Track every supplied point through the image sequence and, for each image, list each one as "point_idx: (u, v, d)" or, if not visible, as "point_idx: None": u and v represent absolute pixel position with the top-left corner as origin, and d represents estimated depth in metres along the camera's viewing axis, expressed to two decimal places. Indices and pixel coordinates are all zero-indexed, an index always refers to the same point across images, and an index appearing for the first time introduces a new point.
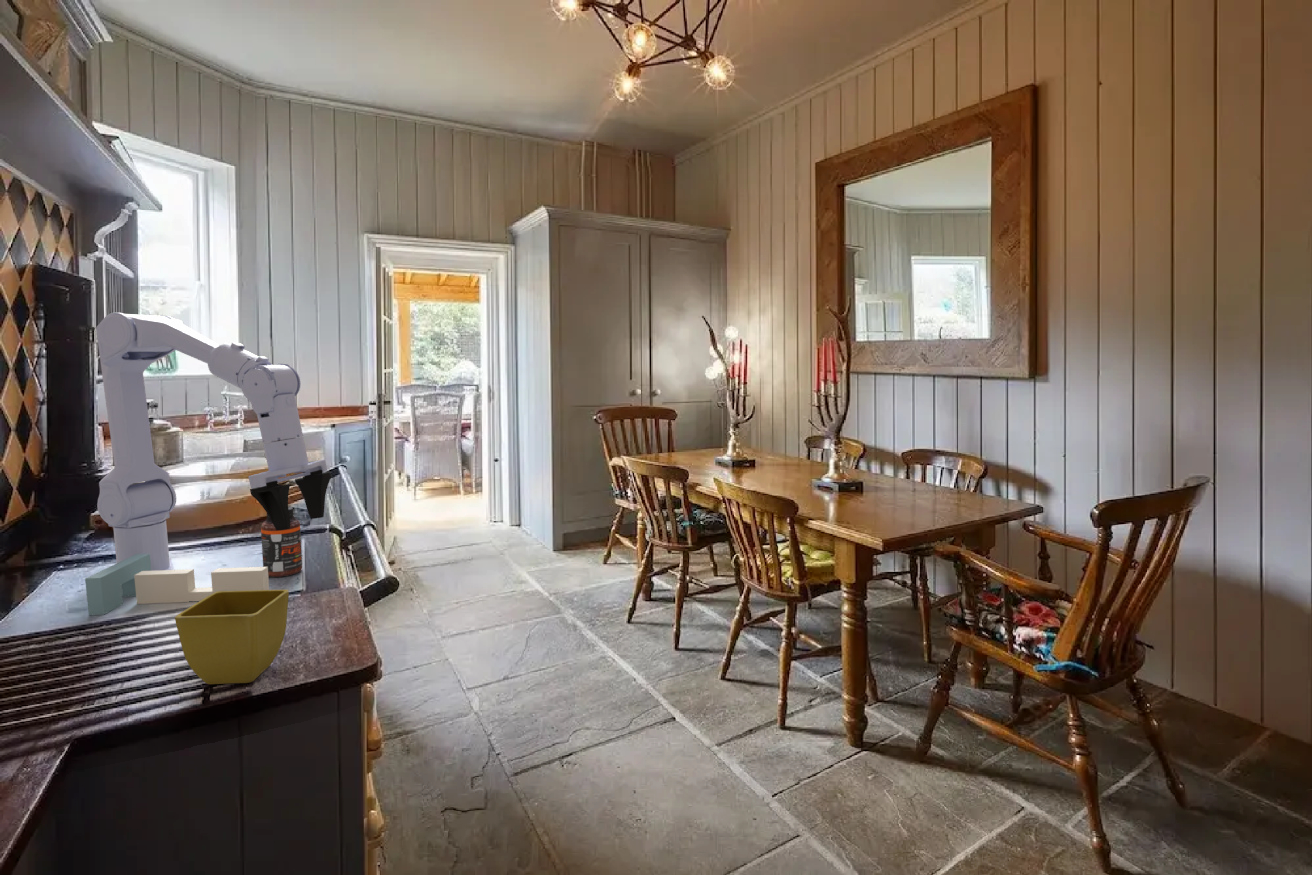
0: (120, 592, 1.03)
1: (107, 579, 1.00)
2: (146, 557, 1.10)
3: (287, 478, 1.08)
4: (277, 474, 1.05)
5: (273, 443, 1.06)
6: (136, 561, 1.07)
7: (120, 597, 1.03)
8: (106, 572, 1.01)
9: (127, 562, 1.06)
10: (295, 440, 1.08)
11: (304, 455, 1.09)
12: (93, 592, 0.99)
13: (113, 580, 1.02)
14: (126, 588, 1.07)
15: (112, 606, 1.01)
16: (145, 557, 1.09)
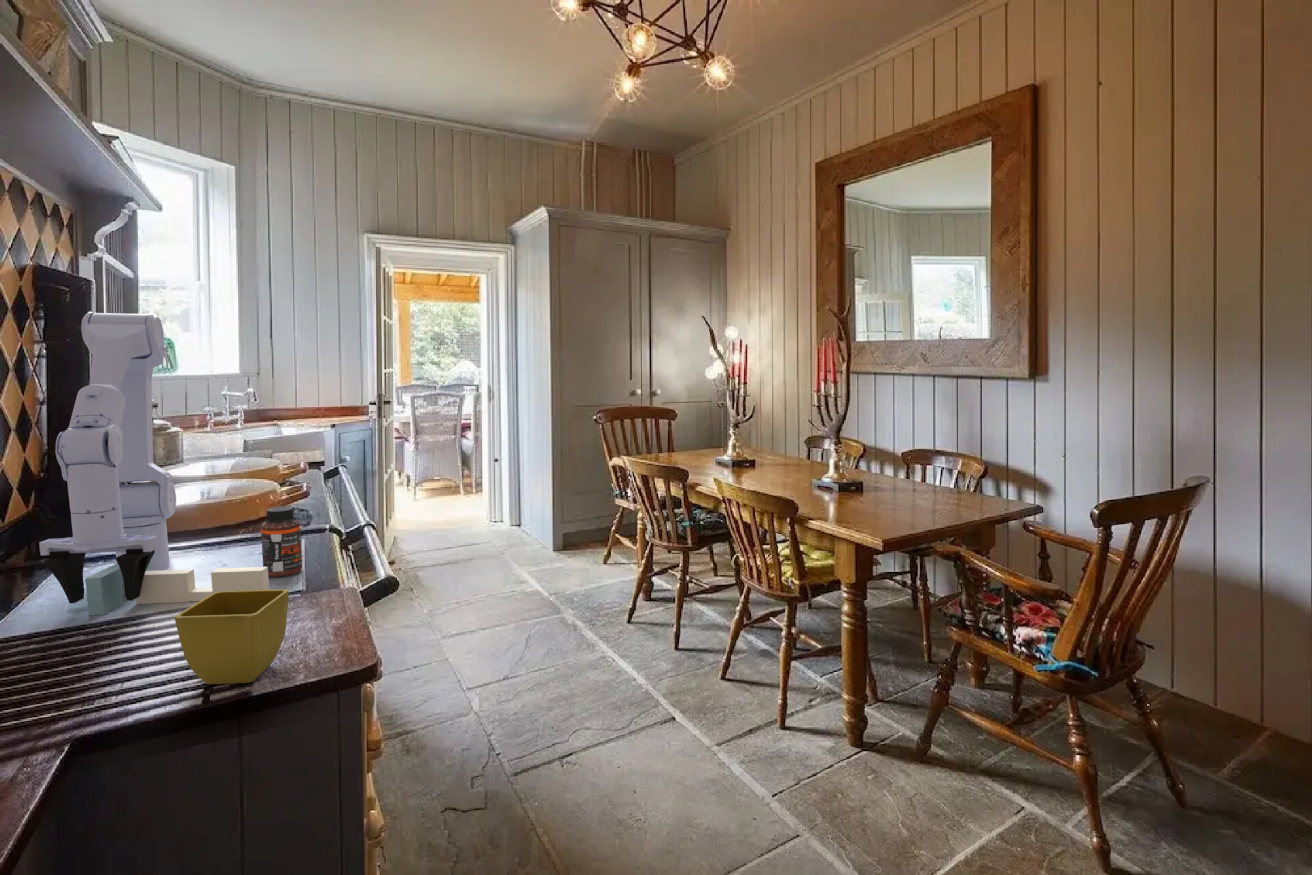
0: (120, 592, 1.03)
1: (107, 579, 1.00)
2: None
3: (89, 550, 1.00)
4: (57, 547, 0.98)
5: None
6: None
7: (120, 597, 1.03)
8: (106, 572, 1.01)
9: None
10: (78, 516, 0.97)
11: (88, 534, 0.97)
12: (93, 592, 0.99)
13: (113, 580, 1.02)
14: None
15: (112, 606, 1.01)
16: None
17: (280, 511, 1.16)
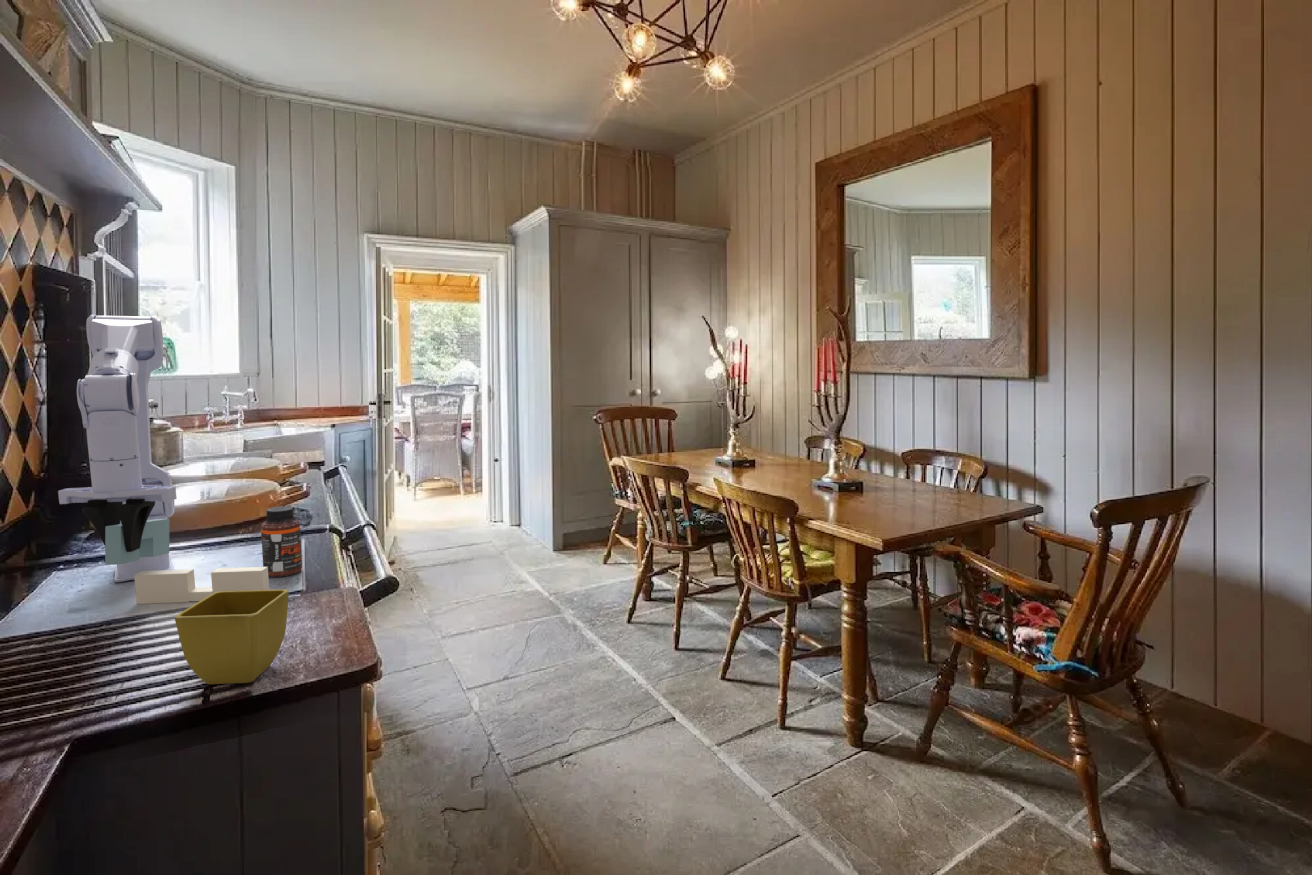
0: None
1: None
2: (166, 520, 1.09)
3: (108, 500, 0.99)
4: (76, 495, 0.97)
5: (91, 461, 0.98)
6: (156, 521, 1.07)
7: (137, 552, 1.02)
8: None
9: (147, 521, 1.06)
10: (97, 463, 0.96)
11: (106, 482, 0.96)
12: (112, 540, 0.98)
13: None
14: (143, 548, 1.06)
15: (129, 559, 1.00)
16: (165, 520, 1.09)
17: (280, 511, 1.16)
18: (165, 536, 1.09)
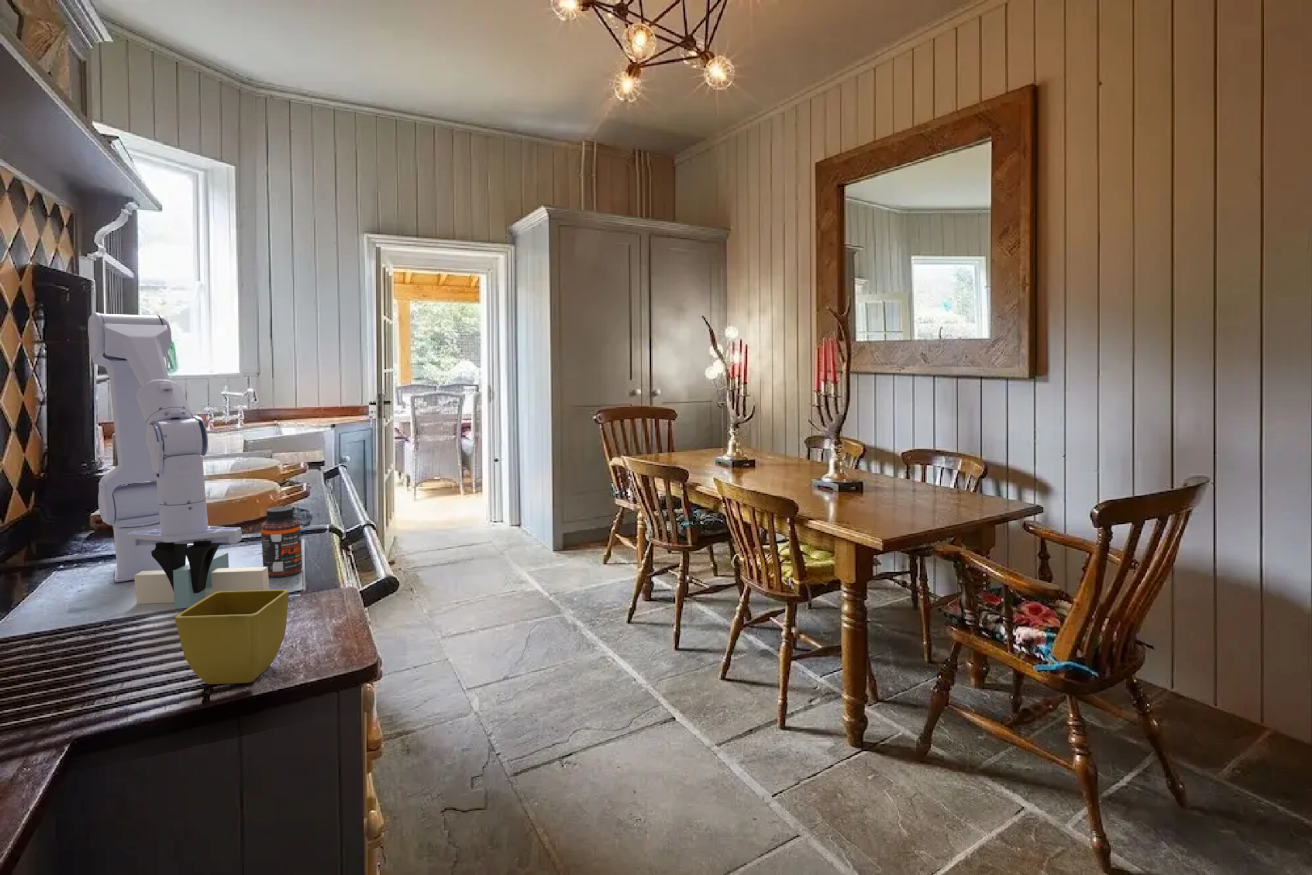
0: None
1: None
2: (225, 555, 1.10)
3: (175, 542, 1.00)
4: (145, 538, 0.98)
5: (159, 504, 0.99)
6: (217, 558, 1.08)
7: (203, 592, 1.03)
8: None
9: None
10: (166, 507, 0.97)
11: (176, 525, 0.98)
12: (180, 584, 0.99)
13: None
14: (206, 585, 1.07)
15: (196, 600, 1.01)
16: (224, 555, 1.10)
17: (280, 511, 1.16)
18: None
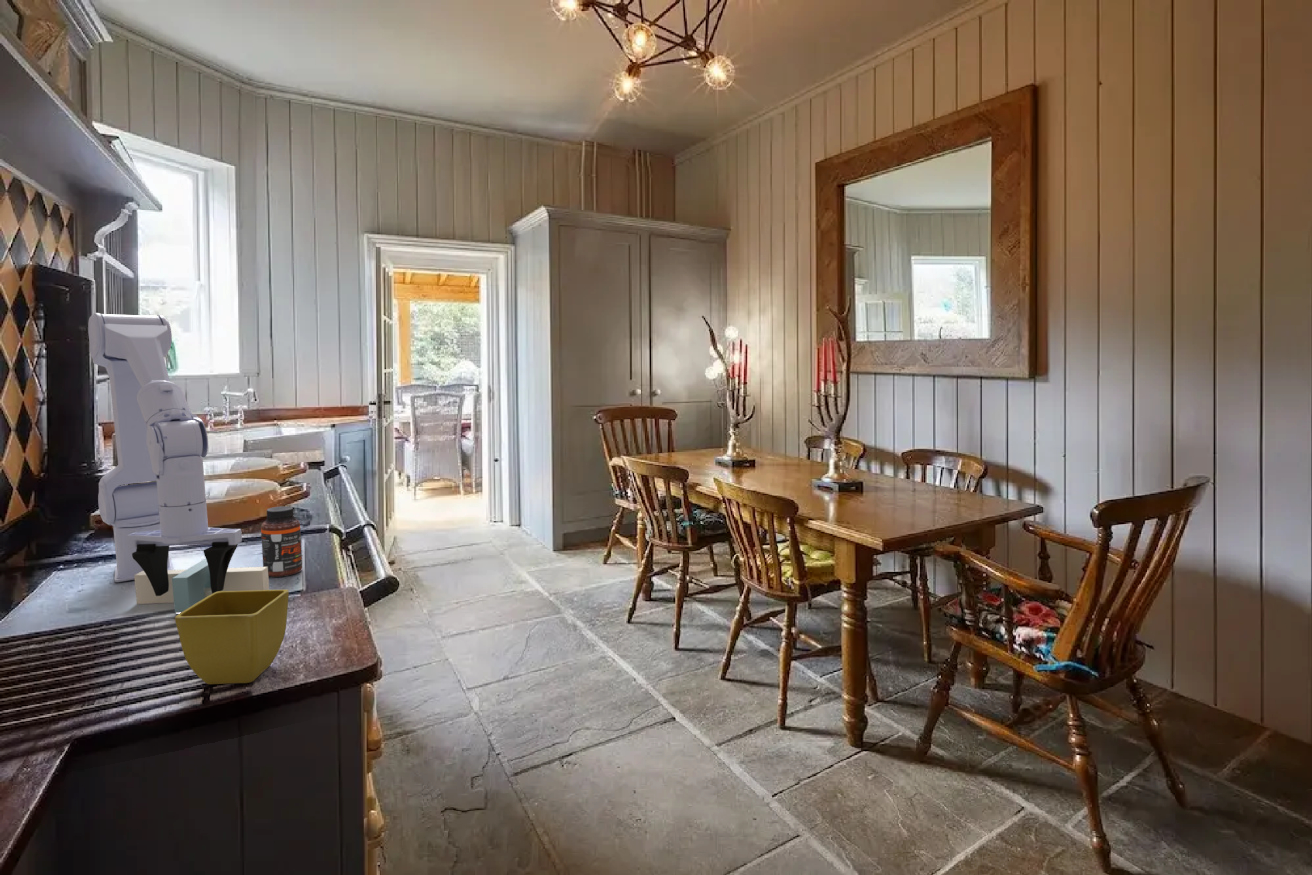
0: (203, 591, 1.04)
1: (192, 579, 1.01)
2: None
3: (176, 543, 1.00)
4: (145, 539, 0.98)
5: (159, 505, 0.99)
6: None
7: (203, 597, 1.03)
8: (191, 572, 1.02)
9: None
10: (167, 509, 0.97)
11: (176, 527, 0.98)
12: (180, 592, 0.99)
13: (197, 579, 1.02)
14: None
15: None
16: None
17: (280, 511, 1.16)
18: None
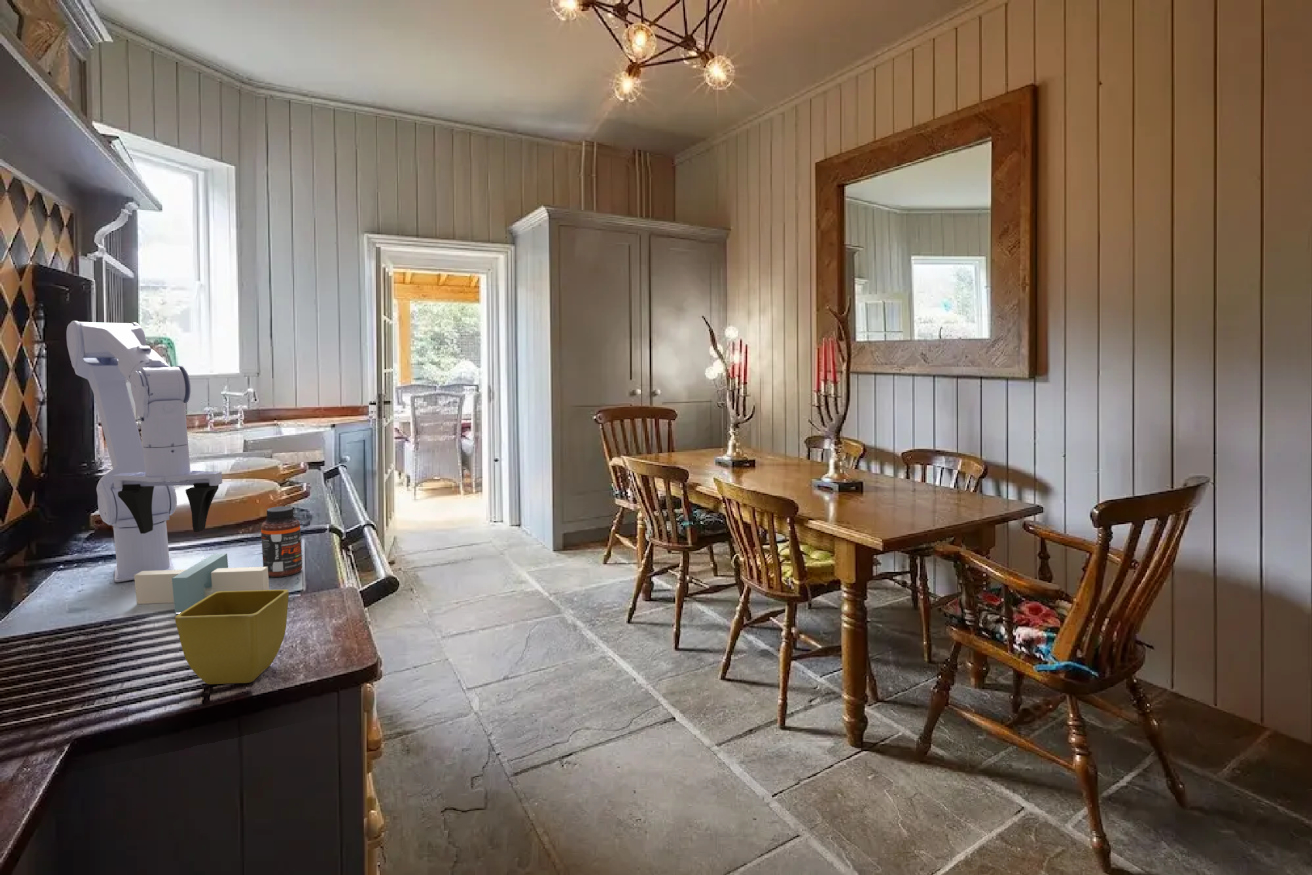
0: (203, 591, 1.04)
1: (192, 579, 1.01)
2: (224, 556, 1.10)
3: (159, 484, 1.06)
4: (130, 479, 1.04)
5: None
6: (216, 561, 1.07)
7: (203, 597, 1.03)
8: (190, 572, 1.02)
9: (208, 562, 1.06)
10: (150, 450, 1.03)
11: (159, 467, 1.03)
12: (180, 592, 0.99)
13: (197, 579, 1.02)
14: None
15: None
16: (223, 557, 1.10)
17: (280, 511, 1.16)
18: None
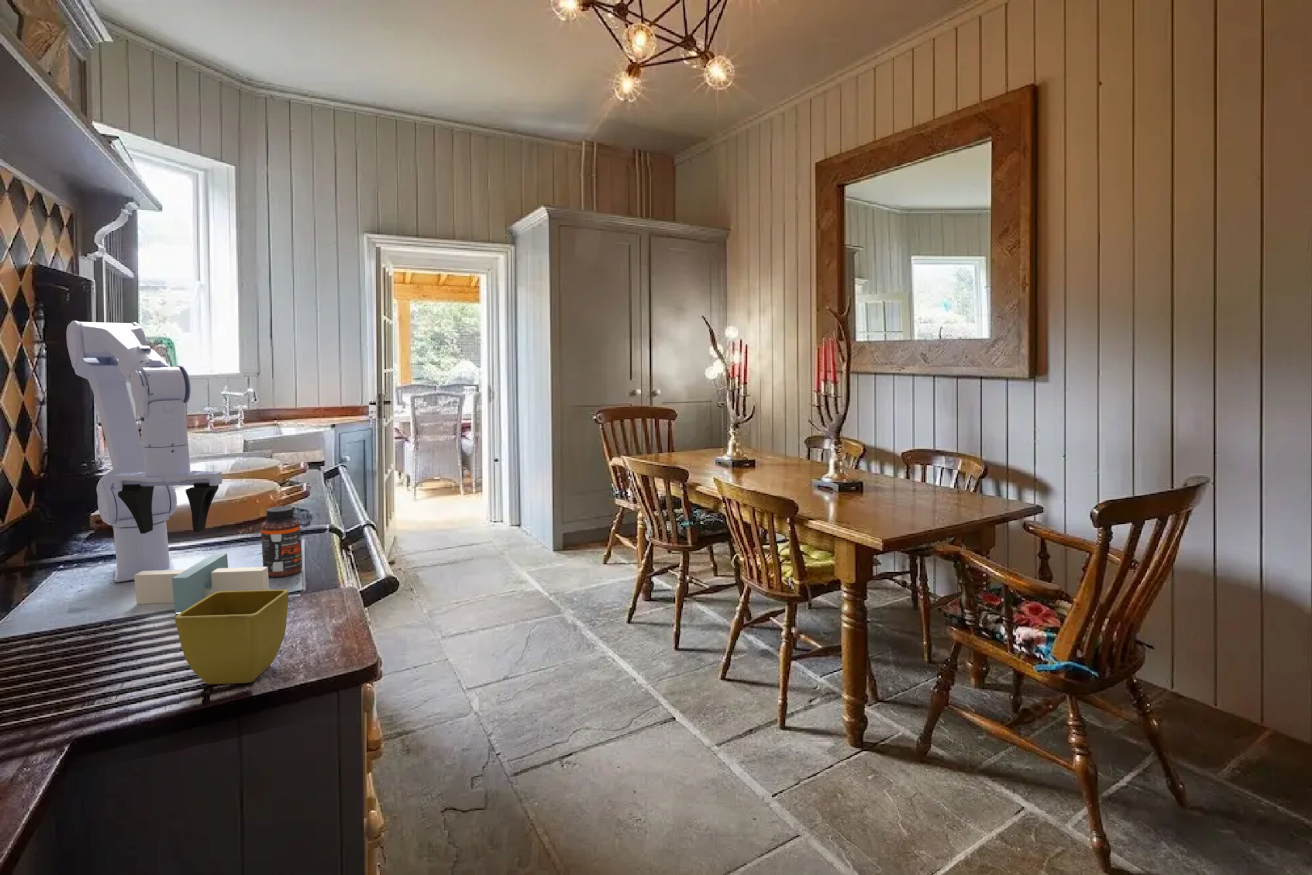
0: (203, 591, 1.04)
1: (192, 579, 1.01)
2: (224, 556, 1.10)
3: (159, 484, 1.06)
4: (130, 479, 1.04)
5: None
6: (216, 561, 1.07)
7: (203, 597, 1.03)
8: (190, 572, 1.02)
9: (208, 562, 1.06)
10: (150, 450, 1.03)
11: (159, 467, 1.03)
12: (179, 592, 0.99)
13: (197, 579, 1.02)
14: None
15: None
16: (223, 557, 1.10)
17: (280, 511, 1.16)
18: None
